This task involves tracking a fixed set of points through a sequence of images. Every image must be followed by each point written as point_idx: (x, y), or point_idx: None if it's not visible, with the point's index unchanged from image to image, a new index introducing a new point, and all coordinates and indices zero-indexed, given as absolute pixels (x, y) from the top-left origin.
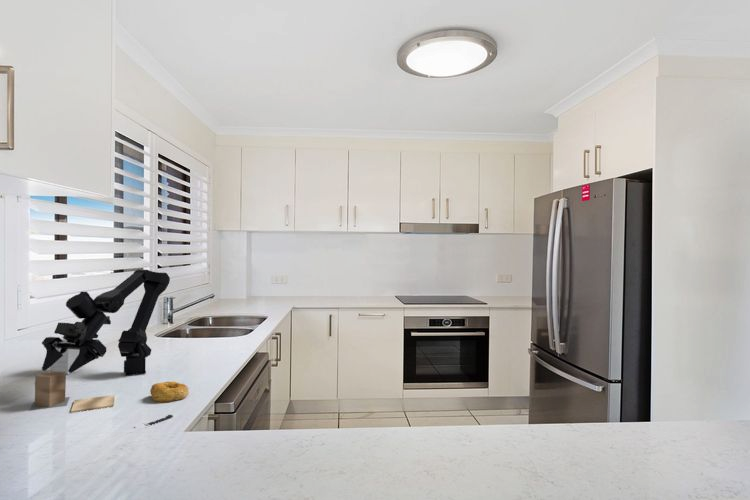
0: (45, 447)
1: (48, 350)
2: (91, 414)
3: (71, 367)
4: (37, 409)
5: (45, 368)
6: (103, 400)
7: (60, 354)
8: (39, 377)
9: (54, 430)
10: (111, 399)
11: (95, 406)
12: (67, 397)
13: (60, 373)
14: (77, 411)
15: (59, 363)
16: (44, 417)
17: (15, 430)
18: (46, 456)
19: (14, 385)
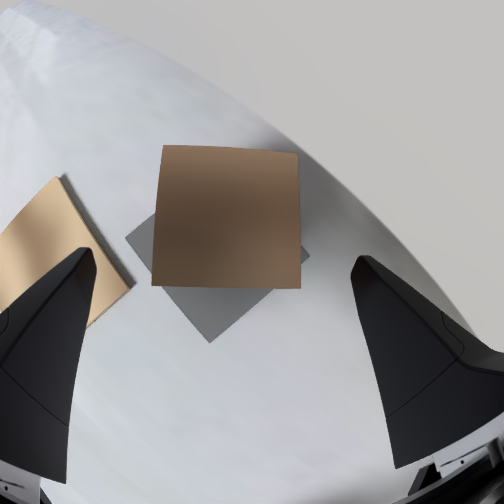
0: (26, 44)
1: (494, 358)
2: (4, 190)
3: (62, 260)
4: None
5: (358, 279)
6: None
7: (409, 453)
8: (257, 152)
9: (40, 83)
10: None
11: (12, 236)
12: (213, 333)
13: (166, 246)
14: (43, 189)
15: None
16: (118, 127)
17: (130, 54)
18: (15, 35)
19: None
